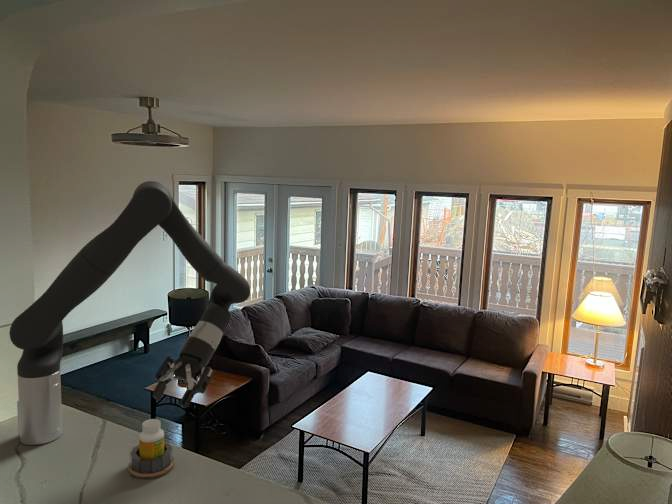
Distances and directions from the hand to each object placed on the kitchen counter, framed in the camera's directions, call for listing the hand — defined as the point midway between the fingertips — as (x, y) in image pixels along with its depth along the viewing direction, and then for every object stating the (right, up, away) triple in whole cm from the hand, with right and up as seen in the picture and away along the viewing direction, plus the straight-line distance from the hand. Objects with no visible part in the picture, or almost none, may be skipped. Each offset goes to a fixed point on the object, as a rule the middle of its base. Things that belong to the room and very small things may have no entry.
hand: (168, 402), depth 120 cm
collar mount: (-3, -14, -3) cm, 15 cm away
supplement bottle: (-3, -13, -3) cm, 14 cm away
